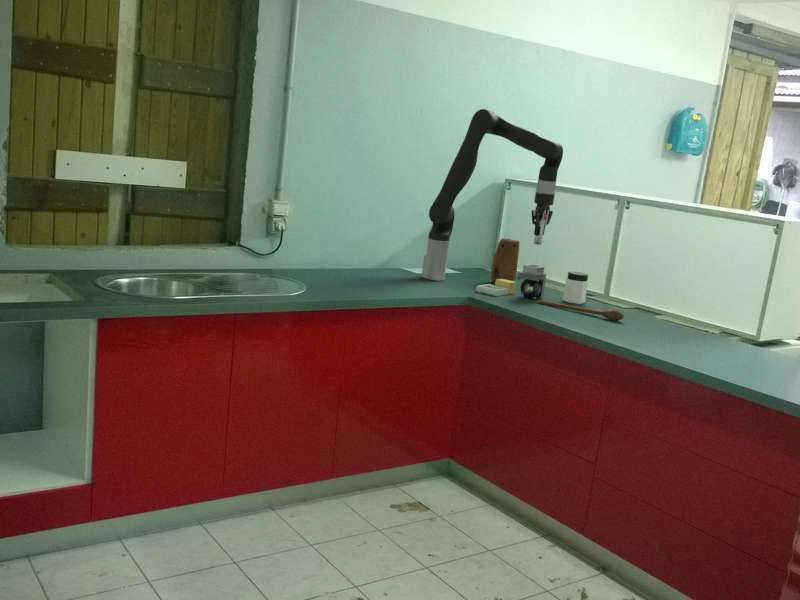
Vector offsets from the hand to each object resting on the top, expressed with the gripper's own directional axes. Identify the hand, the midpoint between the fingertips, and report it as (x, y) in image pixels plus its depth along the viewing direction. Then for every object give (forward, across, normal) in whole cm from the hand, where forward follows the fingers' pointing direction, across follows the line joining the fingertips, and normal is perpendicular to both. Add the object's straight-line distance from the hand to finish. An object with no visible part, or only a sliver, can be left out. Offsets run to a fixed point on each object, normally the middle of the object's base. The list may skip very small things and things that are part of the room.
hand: (538, 235), depth 321 cm
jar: (+26, -15, +13) cm, 33 cm away
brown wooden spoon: (+27, +4, +24) cm, 36 cm away
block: (+26, -17, -23) cm, 39 cm away
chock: (+26, -1, -12) cm, 29 cm away
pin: (+4, 0, 0) cm, 4 cm away
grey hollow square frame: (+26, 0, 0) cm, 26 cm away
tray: (+26, +7, -13) cm, 30 cm away
